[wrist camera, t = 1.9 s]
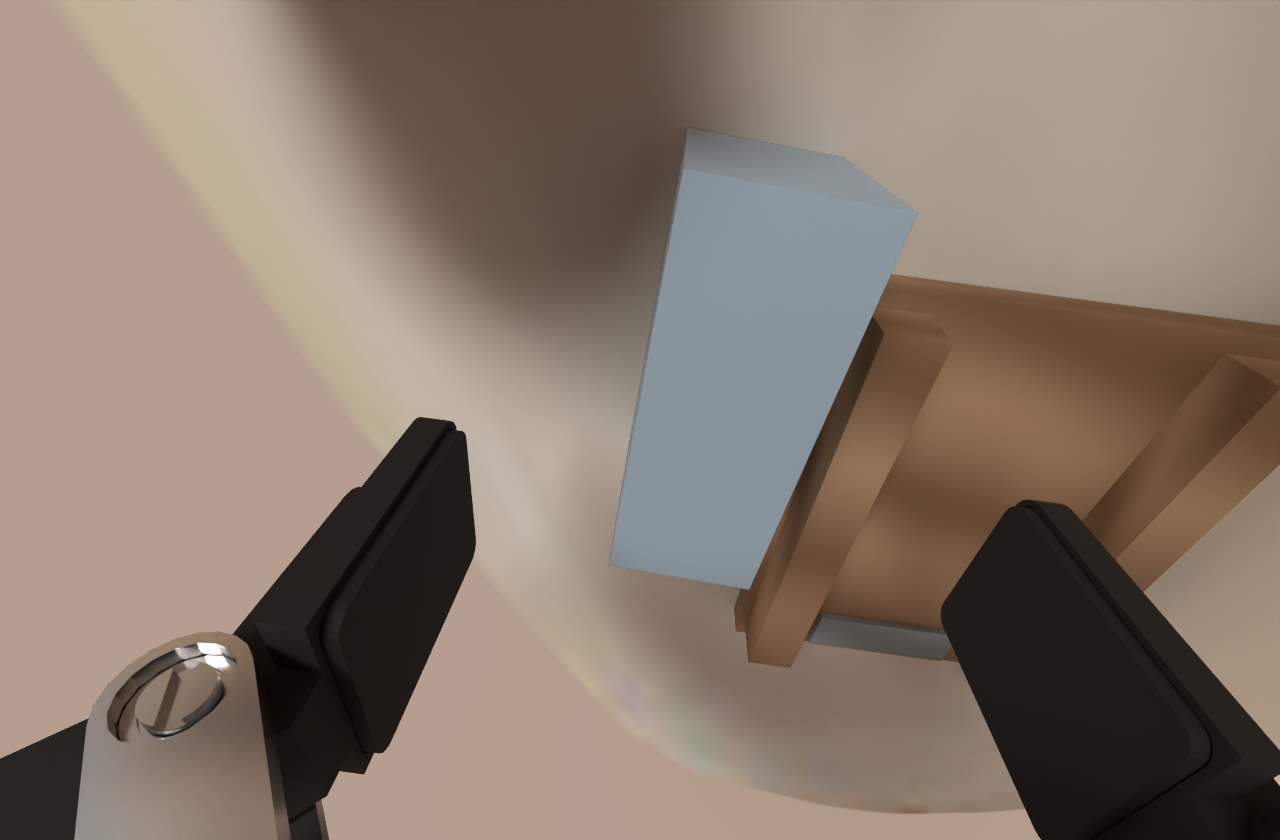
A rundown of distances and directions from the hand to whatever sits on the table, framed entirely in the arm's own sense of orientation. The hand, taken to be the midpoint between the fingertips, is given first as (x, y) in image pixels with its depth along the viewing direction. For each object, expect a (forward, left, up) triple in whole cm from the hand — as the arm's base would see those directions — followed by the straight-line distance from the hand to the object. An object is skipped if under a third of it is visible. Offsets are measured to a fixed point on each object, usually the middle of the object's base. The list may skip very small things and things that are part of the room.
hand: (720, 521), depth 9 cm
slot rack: (+4, +13, -7) cm, 15 cm away
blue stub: (-1, 0, -7) cm, 7 cm away
